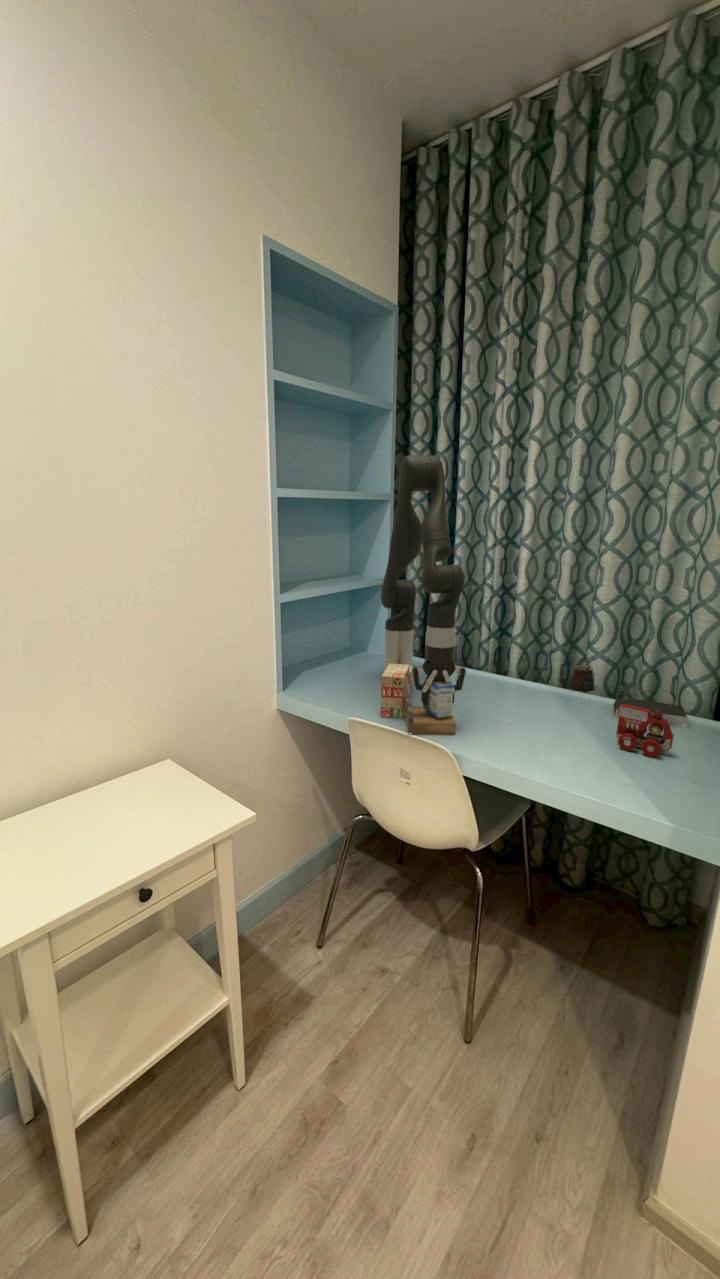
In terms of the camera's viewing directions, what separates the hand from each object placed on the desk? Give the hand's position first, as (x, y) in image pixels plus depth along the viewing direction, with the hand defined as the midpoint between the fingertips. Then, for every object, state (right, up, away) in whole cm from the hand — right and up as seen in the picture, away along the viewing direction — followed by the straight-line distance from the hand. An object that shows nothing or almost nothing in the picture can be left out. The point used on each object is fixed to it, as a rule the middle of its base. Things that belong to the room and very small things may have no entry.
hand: (437, 704), depth 141 cm
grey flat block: (+60, -5, +8) cm, 61 cm away
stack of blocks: (-9, -2, +17) cm, 19 cm away
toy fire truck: (+48, -10, -12) cm, 50 cm away
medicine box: (0, -2, +1) cm, 2 cm away
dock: (-2, -6, +1) cm, 6 cm away
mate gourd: (+50, 0, +30) cm, 59 cm away
